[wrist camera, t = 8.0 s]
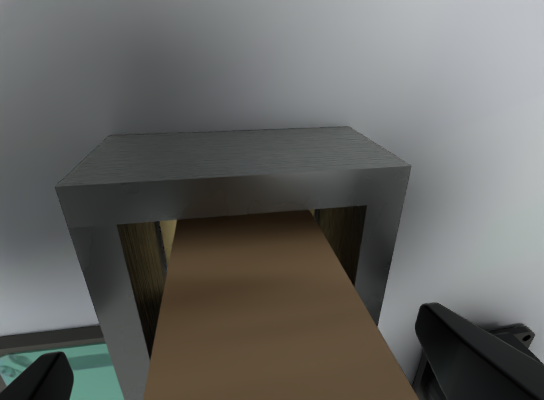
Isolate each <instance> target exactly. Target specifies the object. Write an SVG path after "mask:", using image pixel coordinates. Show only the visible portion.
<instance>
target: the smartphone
mask: <svg viewBox="0 0 544 400" xmlns="http://www.w3.org/2000/svg"><path fill="white" fill-rule="evenodd" d="M57 351H62V352H64V353H65V355H66V357H67V359H68V361H69V364H70V366H71V369H72V371H73V374H74V384H73V388H72V392H71V397H70V400H124V398H123V394H122V391H121V388H120V385H119V382H118V379H117V376H116V373H115V370H114V367H113V364H112V361H111V358H110V355H109V352H108V348H107V345H106V342H105V339H104V336H103V333H102V330H101V327H100V325H99V326H90V327H81V328H72V329H64V330H55V331H46V332H38V333H29V334H20V335H11V336H3V337H0V392H1V391H2V390H3V389H4V388H6V387H7V386H8V385H9V384H10V383H11V382H12V381H13V380H14V379H15V378H16V377H17V376H19V375H20V374H21V373H22V372H23V371H24V370H25V369H26V368H27V367H28V366H29V365H31V364H32V363H33V362H34V361H35V360H36V359H37V358H38V357H39V356H41V355H42V354H44V353H50V352H57Z"/></svg>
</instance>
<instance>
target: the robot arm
mask: <svg viewBox="0 0 544 400" xmlns="http://www.w3.org/2000/svg"><path fill="white" fill-rule="evenodd" d="M415 331H416V335H417V337H418V339H419V341H420V343H421V346H422V348H423V350H424V352H423V356H422V359H421V362H420V365H419V368H418V371H417V375H416V378H415V381H414V384H413V387H412V388H413V390H414V392H415V393H416V395H417V397H418V399H419V400H544V364H543V363H542V362H541V361H540V360H539V359H538V358H537V357H536V356H535V355H534V354H533V353H532V352H531V351H530V350H529V349H528V348H529V346H530V344H531V342H532V340H533V338H534V336H535V334H534V332H533V331H532V330H530V329H529V328H528V327H527V326H522V327H515V328H509V329H502V330H495V331H489V332H487V331H485V330H483V329H482V328H480V327H478V326H476V325H475V324H473V323H471V322H470V321H468V320H466V319H464V318H463V317H461V316H459V315H458V314H456V313H454V312H453V311H451V310H449V309H447V308H446V307H444V306H442V305H441V304H439V303H435V302H434V303H426V304H422V305H421V306H420V309H419V312H418V316H417V319H416V323H415ZM73 384H74V374H73V371H72V369H71V366H70V364H69V361H68V359H67V357H66V355H65V353H64V352H62V351H57V352H50V353H44V354H42V355H41V356H39V357H38V358H37V359H36V360H35V361H34V362H33V363H32V364H31V365H29V366H28V367H27V368H26V369H25V370H24V371H23V372H22V373H21V374H20V375H19V376H17V377H16V378H15V379H14V380H13V381H12V382H11V383H10V384H9V385H8V386H7V387H6V388H4V389H3V390H2V391H1V392H0V400H70V397H71V392H72V388H73Z"/></svg>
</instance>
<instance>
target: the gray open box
mask: <svg viewBox="0 0 544 400" xmlns="http://www.w3.org/2000/svg"><path fill="white" fill-rule="evenodd" d="M410 170H411V165H409V164H408V163H406V162H405V161H403V160H401V159H400V158H398V157H397V156H395V155H393V154H392V153H390V152H389V151H387V150H386V149H384V148H382V147H381V146H379V145H378V144H376V143H374V142H373V141H371V140H370V139H368V138H367V137H365V136H363V135H362V134H360V133H359V132H357V131H355V130H354V129H352V128H351V127H325V128H298V129H271V130H245V131H218V132H191V133H164V134H137V135H111V136H108V137H107V138H106V139H105V140H104V141H103V142H102V143H101V144H100V145H99V146H98V147H96V148H95V149H94V150H93V151H92V152H91V153H90V154H89V155H88V156H87V157H86V158H85V159H84V160H83V161H82V162H81V163H79V164H78V165H77V166H76V167H75V168H74V169H73V170H72V171H71V172H70V173H69V174H68V175H67V176H66V177H65V178H64V179H63V180H61V181H60V182H59V183H58V184H57V185H56V186H55V189H56V192H57V195H58V198H59V201H60V204H61V207H62V210H63V213H64V217H65V220H66V223H67V226H68V229H69V232H70V235H71V238H72V241H73V244H74V247H75V250H76V253H77V256H78V259H79V263H80V266H81V269H82V272H83V275H84V278H85V281H86V284H87V287H88V290H89V293H90V296H91V299H92V302H93V306H94V309H95V312H96V315H97V318H98V321H99V324H100V327H101V330H102V333H103V336H104V339H105V342H106V345H107V348H108V352H109V355H110V358H111V361H112V364H113V367H114V370H115V373H116V376H117V379H118V382H119V385H120V388H121V391H122V394H123V398H124V400H143V397H144V392H145V387H146V381H147V376H148V371H149V365H150V360H151V355H152V350H153V344H154V339H155V334H156V328H157V323H158V318H159V313H160V307H161V302H162V297H163V291H164V286H165V281H166V276H167V270H166V265H165V259H164V253H163V248H162V242H161V237H160V231H159V225H158V221H159V222H160V228H161V233H162V239H163V245H164V250H165V256H166V262H167V268H168V265H169V260H170V254H171V249H172V244H173V239H174V233H175V228H176V223H177V220H181V219H194V218H207V217H220V216H233V215H246V214H259V213H272V212H285V211H298V210H310V212H311V213H312V215H313V217H314V218H315V220H316V222H317V224H318V225H319V227H320V229H321V231H322V232H323V234H324V236H325V238H326V239H327V241H328V243H329V244H330V246H331V248H332V250H333V251H334V253H335V255H336V257H337V258H338V260H339V262H340V264H341V265H342V267H343V269H344V270H345V272H346V274H347V276H348V277H349V279H350V281H351V283H352V284H353V286H354V288H355V290H356V291H357V293H358V295H359V296H360V298H361V300H362V302H363V303H364V305H365V307H366V309H367V310H368V312H369V314H370V316H371V317H372V319H373V321H374V322H375V324H376V326H378V321H379V317H380V312H381V307H382V302H383V298H384V293H385V288H386V283H387V279H388V274H389V269H390V265H391V260H392V255H393V250H394V246H395V241H396V236H397V231H398V227H399V222H400V217H401V213H402V208H403V203H404V198H405V194H406V189H407V184H408V180H409V175H410ZM315 209H316V215H315Z"/></svg>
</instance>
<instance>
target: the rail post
mask: <svg viewBox="0 0 544 400" xmlns="http://www.w3.org/2000/svg"><path fill="white" fill-rule="evenodd" d="M143 400H419V399H418V397H417V395H416V393H415V392H414V390H413V388H412V387H411V385H410V383H409V381H408V380H407V378H406V376H405V374H404V373H403V371H402V369H401V367H400V366H399V364H398V362H397V361H396V359H395V357H394V355H393V354H392V352H391V350H390V348H389V347H388V345H387V343H386V342H385V340H384V338H383V336H382V335H381V333H380V331H379V329H378V328H377V326H376V324H375V322H374V321H373V319H372V317H371V316H370V314H369V312H368V310H367V309H366V307H365V305H364V303H363V302H362V300H361V298H360V296H359V295H358V293H357V291H356V290H355V288H354V286H353V284H352V283H351V281H350V279H349V277H348V276H347V274H346V272H345V270H344V269H343V267H342V265H341V264H340V262H339V260H338V258H337V257H336V255H335V253H334V251H333V250H332V248H331V246H330V244H329V243H328V241H327V239H326V238H325V236H324V234H323V232H322V231H321V229H320V227H319V225H318V224H317V222H316V220H315V219H314V217H313V215H312V213H311V212H310V210H298V211H285V212H272V213H259V214H246V215H233V216H220V217H207V218H194V219H181V220H177V223H176V228H175V233H174V239H173V244H172V249H171V254H170V260H169V265H168V270H167V276H166V281H165V286H164V291H163V297H162V302H161V307H160V313H159V318H158V323H157V328H156V334H155V339H154V344H153V350H152V355H151V360H150V365H149V371H148V376H147V381H146V387H145V392H144V397H143Z"/></svg>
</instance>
